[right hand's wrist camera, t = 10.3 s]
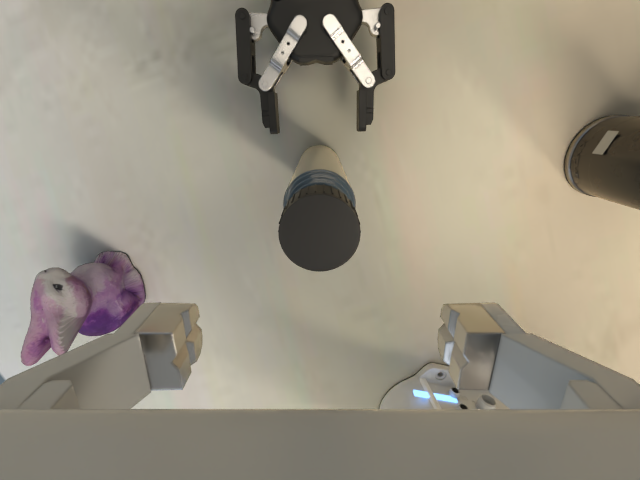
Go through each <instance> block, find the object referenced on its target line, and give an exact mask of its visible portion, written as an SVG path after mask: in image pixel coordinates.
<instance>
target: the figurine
mask: <svg viewBox="0 0 640 480" xmlns="http://www.w3.org/2000/svg"><path fill="white" fill-rule="evenodd" d="M30 301H31V303H30V305H31V322H30V326H29V328H28V332H27V334H26V337H25V340H24V344H23V347H22V351H21V362H22V363H23V364H24V365H26V366H31V365H33V364H35V363H37V362H38V361H39V360H40V359H41V357H42V356H43V355H44V354H45V353H46V352H47V351H48V350H49V349H50V348H52V349H53V351H54V352H55V353H56V354H57V355H59V356H60V355H62V354H64V353H66V352H67V351H68V349H69V348H70V346H71V344H72V342H73V341H74V339H75V337H76V336H77V334H78V332H79V333H81V334H82V335H86V336H100V335H104V334H107V333H110V332H112V331H114V330H116V329H117V328H119V327H121V325H122V324H123V323H124V322H125V321H126V320H127V319H128V318H129V317H130V316H131V315H132V314H133V313H134V312H135V311H136V310H137V309H138V308H139V307H140V306H141V304H143V303H144V301H145V291H144V286H143V281H142V279H141V275H140V274H139V273H138V271H137V270H136V269H135V268H134V267H133V265H132V264H131V262H130V260H129V258H128V257H127V255H126V254H124V253H122V252H112V251H111V252H110V251H109V252H108V251H107V252H102V253H100V254H99V255H98V256H97V257H96V259H95V261H94V263H87V264H83V265H81V266H79V267H77V268H76V269H75V270H74V271H73V272H72V273H71V274H70V273H68V272H67V271H65V270H64V269H61V268H49V269H47V270H44V271H41V272H40V273H38V274H37V276H36V278H35V281H34V285H33V288H32V292H31V299H30Z"/></svg>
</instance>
